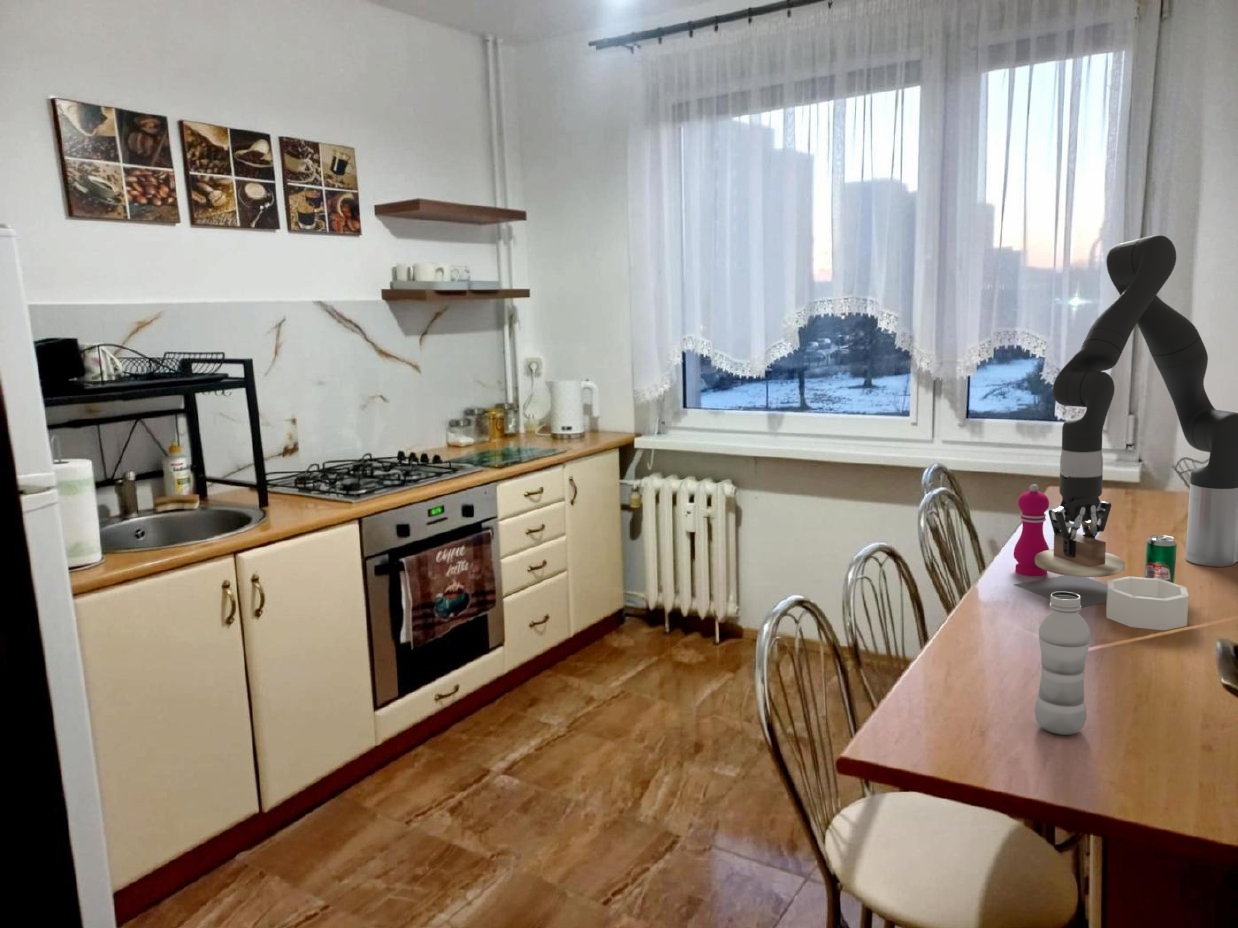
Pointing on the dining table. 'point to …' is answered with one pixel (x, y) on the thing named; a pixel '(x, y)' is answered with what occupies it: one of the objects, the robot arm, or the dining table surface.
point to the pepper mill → (1031, 532)
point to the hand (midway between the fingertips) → (1078, 554)
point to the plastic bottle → (1062, 666)
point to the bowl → (1147, 603)
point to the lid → (1080, 559)
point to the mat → (1070, 588)
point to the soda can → (1160, 558)
